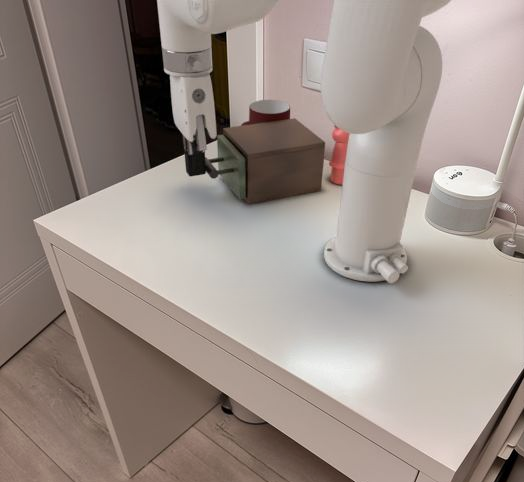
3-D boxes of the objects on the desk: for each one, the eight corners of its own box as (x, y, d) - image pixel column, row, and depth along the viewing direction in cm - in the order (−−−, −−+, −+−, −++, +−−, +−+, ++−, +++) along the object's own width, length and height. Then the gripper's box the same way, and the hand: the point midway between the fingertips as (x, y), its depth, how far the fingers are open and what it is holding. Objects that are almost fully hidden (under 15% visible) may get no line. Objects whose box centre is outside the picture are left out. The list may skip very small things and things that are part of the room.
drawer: (216, 203, 94) (214, 163, 89) (196, 177, 102) (193, 138, 97) (307, 187, 99) (310, 148, 94) (282, 162, 107) (284, 125, 102)
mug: (247, 169, 106) (247, 118, 100) (232, 154, 112) (231, 104, 105) (295, 160, 110) (297, 110, 103) (277, 146, 115) (279, 97, 108)
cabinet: (248, 204, 96) (248, 154, 90) (224, 175, 104) (223, 128, 98) (321, 190, 100) (325, 142, 94) (292, 164, 108) (295, 118, 102)
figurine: (344, 172, 106) (354, 91, 96) (359, 182, 103) (370, 100, 92) (322, 176, 104) (329, 95, 94) (336, 187, 101) (345, 104, 91)
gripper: (227, 70, 79) (230, 188, 91) (196, 45, 89) (203, 154, 101) (177, 76, 76) (188, 195, 89) (151, 49, 86) (164, 160, 99)
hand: (196, 173), depth 95 cm, fingers closed
